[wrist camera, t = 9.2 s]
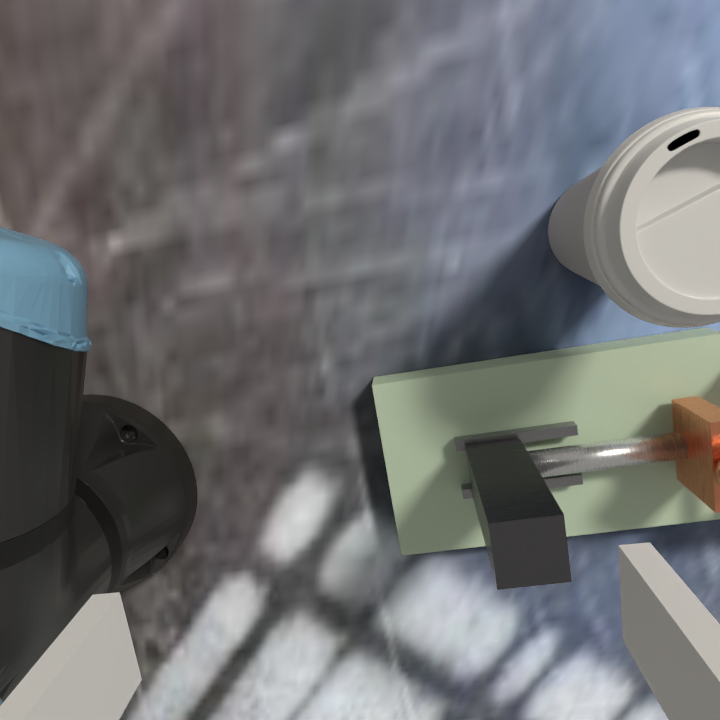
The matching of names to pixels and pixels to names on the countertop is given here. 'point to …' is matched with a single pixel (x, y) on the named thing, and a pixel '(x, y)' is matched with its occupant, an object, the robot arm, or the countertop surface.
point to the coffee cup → (651, 222)
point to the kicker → (531, 494)
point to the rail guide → (525, 436)
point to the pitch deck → (541, 407)
